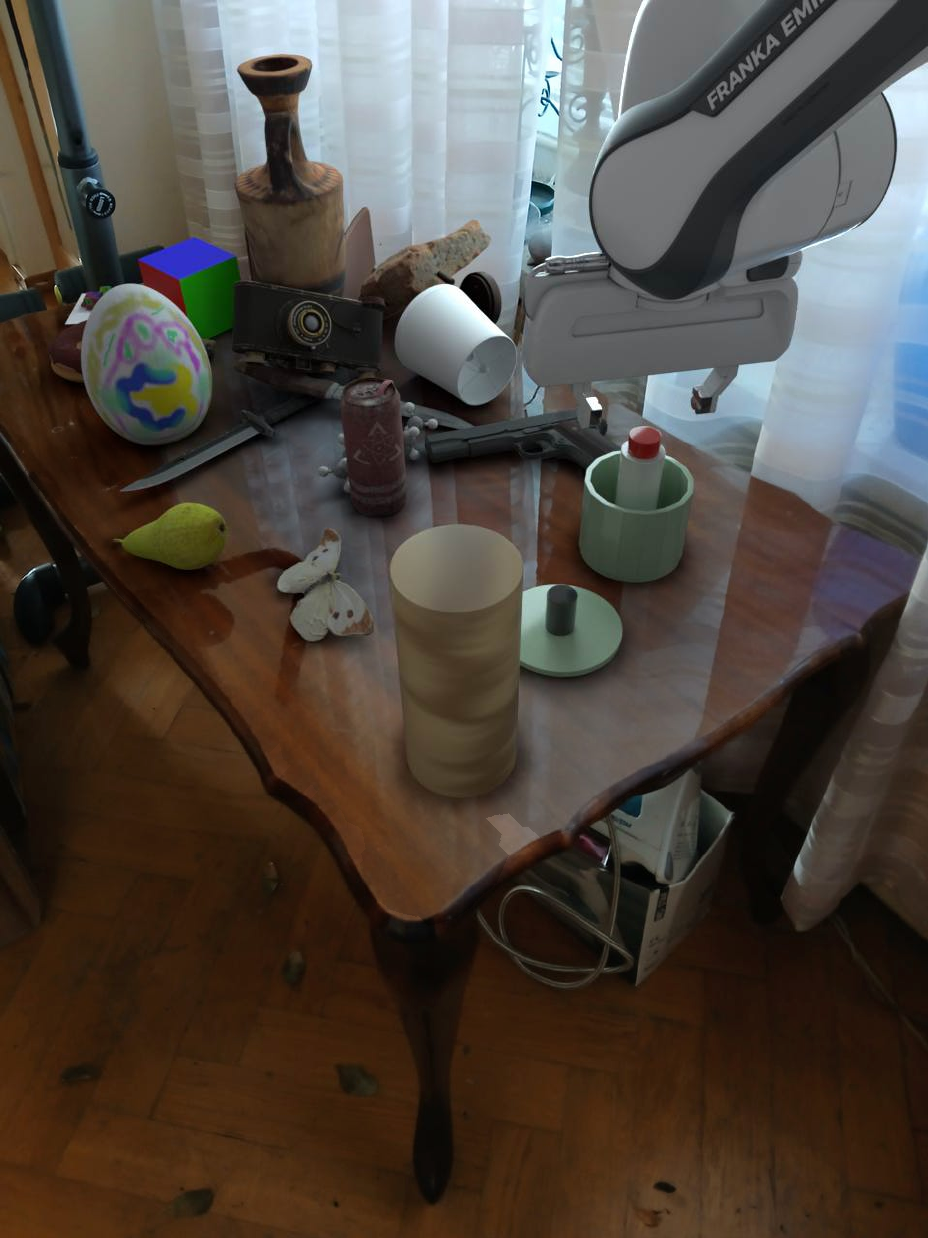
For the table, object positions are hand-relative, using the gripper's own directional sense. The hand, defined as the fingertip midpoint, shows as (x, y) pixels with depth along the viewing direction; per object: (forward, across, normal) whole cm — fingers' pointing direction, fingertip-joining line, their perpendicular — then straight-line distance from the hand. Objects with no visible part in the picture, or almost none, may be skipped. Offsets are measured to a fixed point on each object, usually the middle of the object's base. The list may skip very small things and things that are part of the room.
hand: (645, 416), depth 78 cm
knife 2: (+13, -21, +28) cm, 37 cm away
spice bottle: (+13, 0, 0) cm, 13 cm away
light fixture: (+9, -12, +42) cm, 45 cm away
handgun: (+12, -5, +7) cm, 15 cm away
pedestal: (+14, -19, -20) cm, 30 cm away
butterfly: (+14, -27, -2) cm, 30 cm away
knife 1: (+13, -33, +21) cm, 41 cm away
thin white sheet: (+14, -49, +58) cm, 77 cm away
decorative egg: (+14, -41, +29) cm, 52 cm away
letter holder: (+14, -22, +54) cm, 60 cm away
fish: (+10, -42, +38) cm, 58 cm away
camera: (+4, -24, +36) cm, 43 cm away
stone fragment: (+6, -4, +52) cm, 52 cm away
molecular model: (+12, -18, +15) cm, 27 cm away
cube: (+14, -37, +51) cm, 65 cm away
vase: (+14, -25, +40) cm, 49 cm away
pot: (+14, 0, 0) cm, 14 cm away
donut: (+14, -48, +43) cm, 66 cm away
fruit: (+10, -34, +5) cm, 36 cm away
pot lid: (+13, -9, -10) cm, 18 cm away
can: (+14, -21, +11) cm, 27 cm away
